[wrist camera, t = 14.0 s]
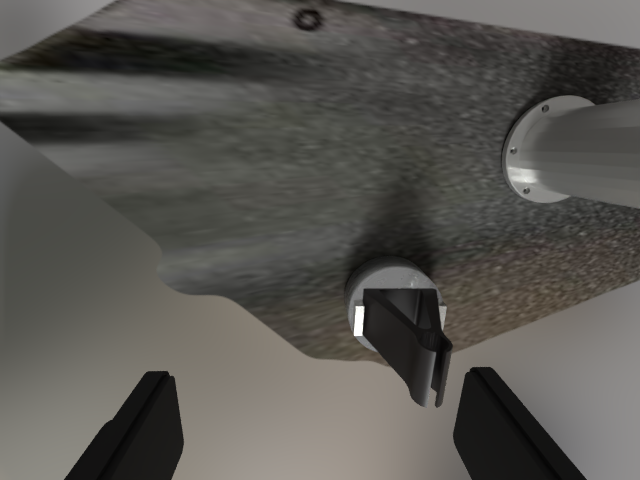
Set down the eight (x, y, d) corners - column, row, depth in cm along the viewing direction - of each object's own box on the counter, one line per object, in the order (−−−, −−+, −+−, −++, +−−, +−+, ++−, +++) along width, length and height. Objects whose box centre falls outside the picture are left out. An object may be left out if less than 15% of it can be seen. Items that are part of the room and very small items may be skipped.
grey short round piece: (433, 255, 41) (456, 275, 35) (422, 331, 45) (441, 361, 38) (346, 255, 41) (353, 275, 34) (342, 332, 44) (348, 362, 38)
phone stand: (435, 288, 37) (493, 351, 26) (428, 330, 39) (480, 407, 27) (363, 287, 37) (389, 352, 25) (359, 330, 38) (382, 408, 27)
